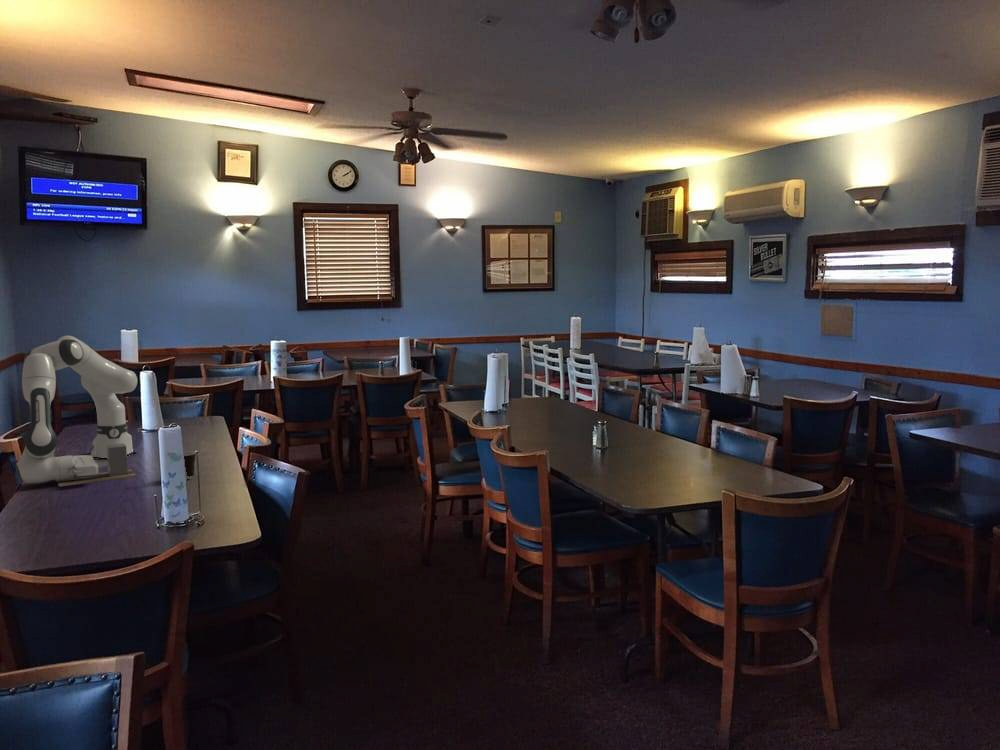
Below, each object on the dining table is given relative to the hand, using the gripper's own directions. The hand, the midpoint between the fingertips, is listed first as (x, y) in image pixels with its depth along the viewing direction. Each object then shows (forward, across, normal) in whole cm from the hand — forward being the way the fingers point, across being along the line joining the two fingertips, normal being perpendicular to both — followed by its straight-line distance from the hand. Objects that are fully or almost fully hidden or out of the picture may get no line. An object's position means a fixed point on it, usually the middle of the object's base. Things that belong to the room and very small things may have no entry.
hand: (108, 462), depth 294 cm
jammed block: (+3, 0, +6) cm, 6 cm away
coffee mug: (+26, -12, +7) cm, 29 cm away
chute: (-4, 0, +7) cm, 8 cm away
